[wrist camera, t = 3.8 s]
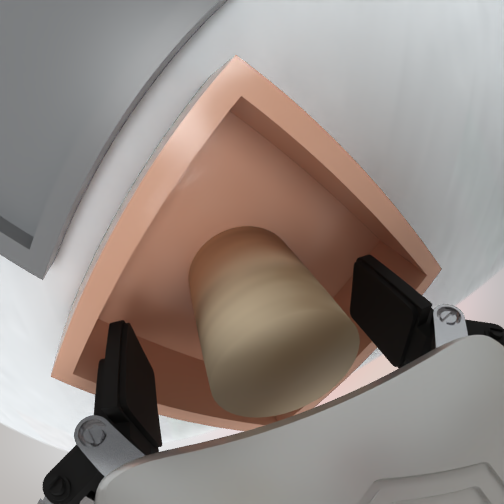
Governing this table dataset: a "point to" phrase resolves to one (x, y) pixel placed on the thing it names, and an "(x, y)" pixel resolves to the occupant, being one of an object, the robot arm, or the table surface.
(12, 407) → the table surface
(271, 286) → the beech cylinder
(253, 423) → the salmon square tray
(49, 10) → the charcoal tray
